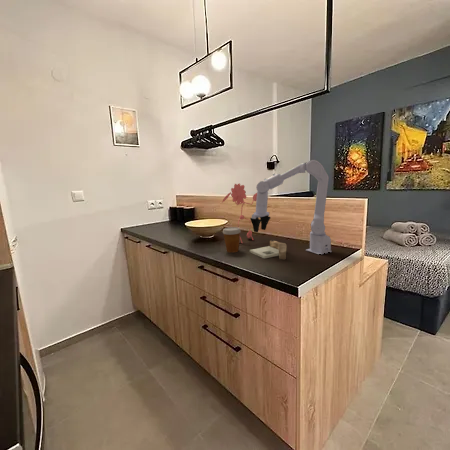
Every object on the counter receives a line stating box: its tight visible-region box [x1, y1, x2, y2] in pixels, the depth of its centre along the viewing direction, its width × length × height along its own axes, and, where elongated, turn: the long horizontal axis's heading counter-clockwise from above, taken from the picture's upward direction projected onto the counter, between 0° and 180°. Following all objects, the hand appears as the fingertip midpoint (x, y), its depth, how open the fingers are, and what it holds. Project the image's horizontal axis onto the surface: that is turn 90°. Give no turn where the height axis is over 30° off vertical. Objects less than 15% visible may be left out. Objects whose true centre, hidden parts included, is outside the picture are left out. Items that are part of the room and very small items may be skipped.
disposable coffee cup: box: [222, 226, 242, 254], centre depth 133 cm, size 10×10×12 cm
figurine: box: [221, 183, 257, 244], centre depth 153 cm, size 15×26×35 cm, turn 128°
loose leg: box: [278, 242, 287, 260], centre depth 117 cm, size 3×3×7 cm
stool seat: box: [249, 245, 279, 259], centre depth 126 cm, size 13×12×1 cm
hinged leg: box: [269, 239, 287, 253], centre depth 130 cm, size 11×2×5 cm, turn 26°
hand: (259, 230), depth 132 cm, fingers open, 7 cm apart
